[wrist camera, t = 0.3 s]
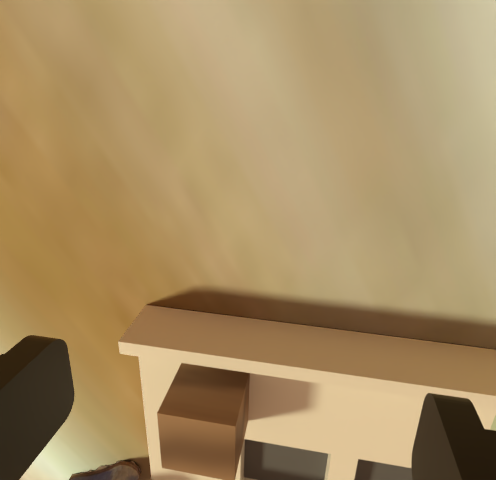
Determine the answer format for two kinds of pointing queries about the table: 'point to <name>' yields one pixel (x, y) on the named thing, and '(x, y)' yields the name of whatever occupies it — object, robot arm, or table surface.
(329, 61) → the table surface
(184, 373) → the walnut block
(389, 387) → the track
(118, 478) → the flask
